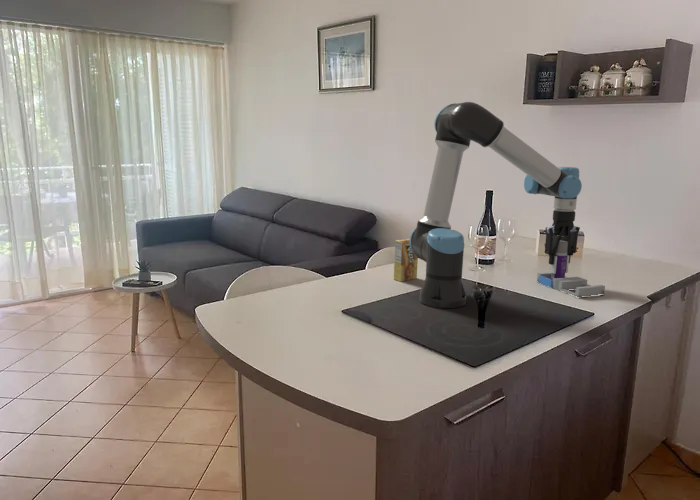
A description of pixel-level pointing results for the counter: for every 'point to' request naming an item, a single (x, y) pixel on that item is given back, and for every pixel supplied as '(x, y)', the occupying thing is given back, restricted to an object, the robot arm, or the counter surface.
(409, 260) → the candy box
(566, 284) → the grey and blue rack
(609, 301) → the counter surface
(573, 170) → the robot arm
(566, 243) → the container
